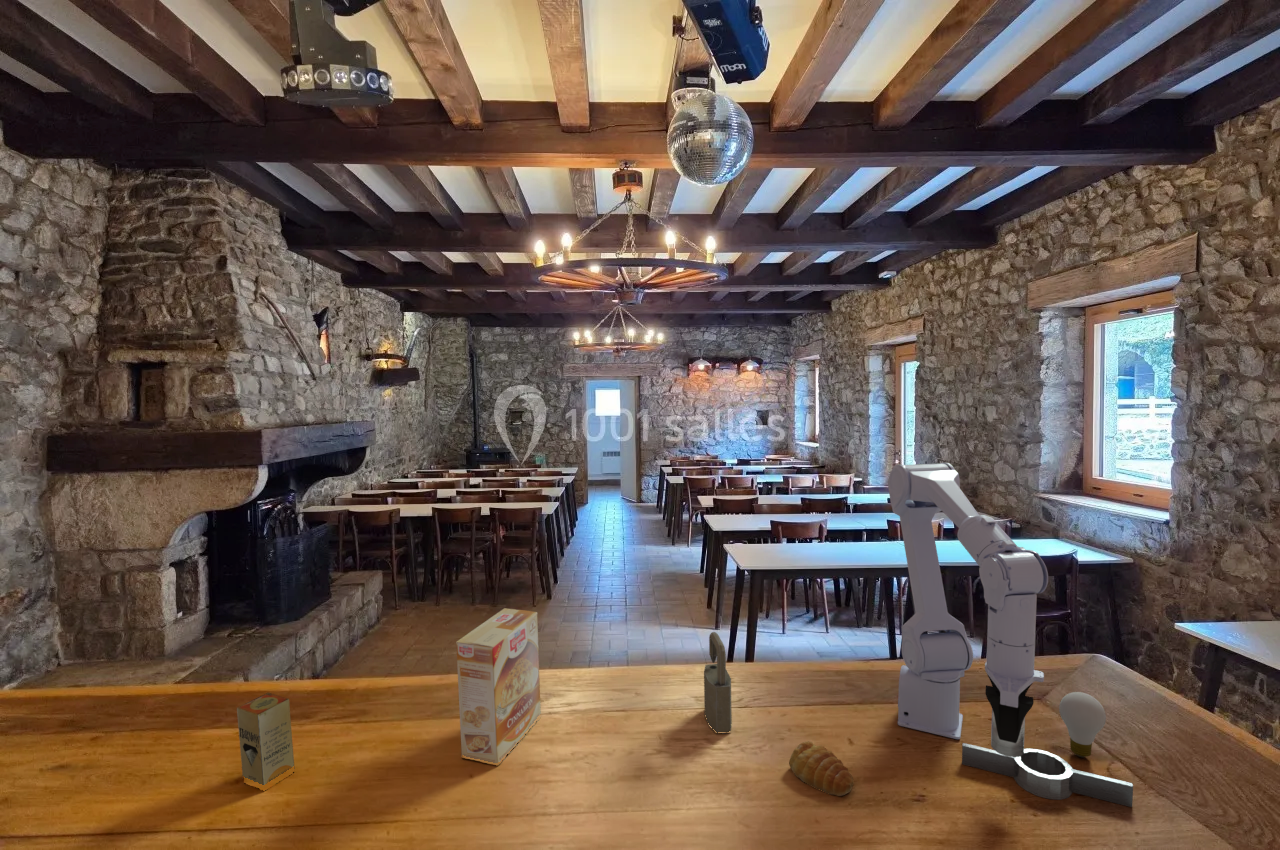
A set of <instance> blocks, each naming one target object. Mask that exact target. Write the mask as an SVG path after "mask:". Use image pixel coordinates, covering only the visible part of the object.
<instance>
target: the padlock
mask: <svg viewBox="0 0 1280 850" xmlns="http://www.w3.org/2000/svg"><path fill="white" fill-rule="evenodd" d="M708 643H709V644H708V645H709V647H708V648H709V649H708V651H709V656H710V660H711V662H712V663H710V664H705V666H704V670H703V683H704V684H703V687H704V688H703V690H704V691H703V693H704V695H703V696H704V700H703V701H704V716H705V715H706V718H707V720H706V722H707V721H708V723H709V725H710V726H711V727H712V729H714V730H715V731H716V732H717V733H718V732H729V731H732V726H731V724H732V725H733V721H732V718H733V717H732V715H733V713H732V677H731V676H730V674H729V672H728V670H727V666H726V665H727V664H726V663H727V661H726V660H727V659H726V657H727V656H726V649H725V648H726V647H725V644H724V643H723V641H722V639H721V637H720V636H719V634H718V633H717V631H716V632H715V631H712V632H711V633H710V634H709V637H708ZM716 661H717V662H716ZM715 662H716V663H715ZM706 718H705V719H706ZM708 723H707V724H708ZM709 725H708V726H709ZM712 729H711V730H712Z"/></svg>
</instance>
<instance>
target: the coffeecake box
mask: <svg viewBox="0 0 1280 850" xmlns="http://www.w3.org/2000/svg"><path fill="white" fill-rule="evenodd" d="M538 624H539V623H538V612H537V611H532V610H524V609H515V608H505V607H504V608H503V609H501V610H500V611H498V612H497V613H495V614H494V615H493V616H491V617H490V618H488V619H486V621H484V622H483V623H481V624H480V625H478V626H477V627H475V628H474V629H472V630H471V631H469V632H468V633H466V635H464V636H463V637H461V638H460V639H458V640H457V641H456V642H455V643H456V664H457V668H456V669H457V683H458V684H457V685H458V702H459V704H458V705H459V707H458V708H459V729H460V730H459V731H460V744H461V745H460V747H461V748H460V750H461V756H462V755H464V756H466V757H470V758H474V759H480V760H484V761H488V762H493V763H498V762H500V761H501V759H502V758H503V757H504V756H505V755H506V754H507V753H508V752H509V751H510V750H511V749H512V748H513V747H514V746H515V744H516V743H517V742H518V741H519V740H520V738H521V737H522V736H523V735H524V733H525V732H526V731H527V730H528V729H529V727H530V726H531V725H532V724H533V723H534V721H535V720H536V719H537V717H538V716H539V715H540V714H541V715H542V709H541V686H540V685H541V684H540V681H541V680H540V655H539V653H540V652H539V651H540V650H539V631H538V628H539V627H538V626H539V625H538Z"/></svg>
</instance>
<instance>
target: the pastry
mask: <svg viewBox="0 0 1280 850" xmlns="http://www.w3.org/2000/svg"><path fill="white" fill-rule="evenodd" d="M788 763H789V768H790V769H791V771H792V773H793V774H794V776H795V777H797V778H798V779H800V780H801V782H803V783H804V782H805V783H804V784H806V783H807V784H806V785H808V784H809V785H808V786H810V787H812V786H813V788H814V787H815V788H814V789H816V788H817V790H818V789H820V790H819V791H821V790H822V791H821V792H823V791H824V792H823V793H825V792H826V793H825V794H828V793H829V794H828V795H833V796H837V797H842V796H845V795H847V794H848V793H850V792H851V790H852V789H853V785H854V778H853V776H852V775H851V773H850V771H849V769H848V767H846V766H845V765H844V763H843V761H842V760H841V759H840V758H838V757H837V756H836V755H835V754H834V753H833V751H831V750H828V749H827V748H826V747H825V746H824V745H815V744H814V743H813V741H808V740H807V741H803V742H801V743H800V744H798V745H797V747H796V748H795V749H794V750H793V751H792V753H791V756H790V759H789V761H788Z"/></svg>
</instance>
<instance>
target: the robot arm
mask: <svg viewBox="0 0 1280 850" xmlns="http://www.w3.org/2000/svg"><path fill="white" fill-rule="evenodd" d="M887 487H888V489H887V490H888V493H889V498H890V501H889V502H890V505H891V508H892V509H891V510H892V512H893V514H895V515H897V516H898V517H899V522H900V526H901V534H902V539H903V545H904V551H905V557H906V562H907V563H906V564H907V569H908V575H909V581H910V587H911V588H910V589H911V594H912V600H913V606H914V614H913V615H912V616H911V617H910V618H909V619H908V620H907V621H906V622H905V623H904V624H903V625H902V626H901V639H902V640H901V656H902V658H903V661H904V664H905V665H904V664H903V665H901V667H900V671H899V680H898V699H897V708H898V711H897V712H898V715H897V717H898V718H897V725H898V726H900V727H903V728H904V727H905V728H909V729H912V730H916V731H921V732H925V733H930V734H933V735H938V736H943V737H946V738H951V739H955V740H960V739H961V735H962V729H963V727H962V726H963V719H964V715H963V714H962V713H960V700H961V698H960V696H961V694H960V691H961V690H960V689H961V678H963V677H964V678H965V671H968V670H970V669H971V667H972V665H973V661H974V651H973V647H972V644H971V642H970V640H969V639H968V635H967V633H966V629H965V625H964V624H963V623H962V622H961V621H960V620H958V619H957V618H955V617H954V616H952V615H951V614H950V613H949V611H948V607H947V606H948V605H947V600H946V595H945V590H944V584H943V578H942V572H941V567H940V561H939V556H938V555H939V554H938V551H937V545H936V539H935V533H934V528H933V527H934V526H933V523H932V521H933V518H934V517H935V515H936V514H938V513H941V512H942V513H944V515H945V516H946V517H947V518H948V519H949V520H951V522H952V523H953V524H954V525H955V526H956V527H957V528H958V530H957V539H958V541H959V543H960V544H961V545H962V546H963V548H964V549H965V550H966V551H967V553H968V554H969V555H970V556H971V558H972V559H973V560H974V562H975V563H976V564H977V565H978V566H979V568H978V570H979V572H978V573H979V578H980V581H981V582H980V583H981V584H982V588H983V599H984V601H985V602H984V603H985V604H987V631H986V632H987V633H986V634H987V637H986V638H987V639H986V661H985V662H984V670H985V673H986V676H987V677H988V680H989V681H990V683H991V685H985V692H984V694H985V697H986V699H987V700H988V702H989V704H990V707H991V710H992V709H993V712H994V716H995V722H996V728H997V733H998V736H999V739H1000V740H1004V741H1008V742H1012V743H1016V742H1017V740H1018V738H1019V734H1020V730H1021V726H1022V723H1023V720H1024V718H1025V719H1026V716H1027V714H1028V712H1029V711H1030V710H1031V709H1032V708H1033V705H1034V701H1035V700H1034V697H1033V696H1030V695H1029V696H1028V695H1026V694H1027V693H1028V690H1029V689H1030V688H1031V686H1032V685H1033V683H1034V682H1037V683H1044V681H1045V673H1044V672H1043V671H1041V670H1040V671H1039V670H1036V669H1035V656H1036V655H1035V654H1036V653H1035V652H1036V626H1037V625H1036V624H1037V623H1036V622H1037V621H1036V620H1037V599H1038V598H1037V597H1038V596H1037V594H1042V593H1043V592H1045V591H1046V589H1047V587H1048V584H1049V573H1048V568H1047V566H1046V564H1045V562H1044V560H1043V559H1042V558H1041V556H1040V554H1039V553H1038V552H1036V551H1035V550H1031V549H1026V548H1025V547H1023V546H1017V544H1016V543H1015V542H1014V541H1013V540H1012V538H1011V537H1010V536H1009V535H1008V534H1007V533H1006V532H1005V531H1004V530H1003V528H1002V527H1001V526H1000V525H999V524H998V523H997V521H996V520H995V519H994V518H993V516H988V515H983V514H979V512H978V511H977V510H976V509H975V507H974V506H973V504H972V503H971V502H970V500H969V499H968V497H967V496H966V494H965V493H964V492H963V491H962V488H960V487H961V481H960V475H959V472H958V471H956V469H955V467H954V466H953V465H952V464H951V463H950V462H940V463H923V464H922V463H921V464H901V463H900V464H895V465H894V466H893V467H892V468H891V470H890V472H889V476H888V479H887ZM930 631H932V633H924V632H930ZM933 631H936V632H933ZM937 631H944V632H937Z"/></svg>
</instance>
